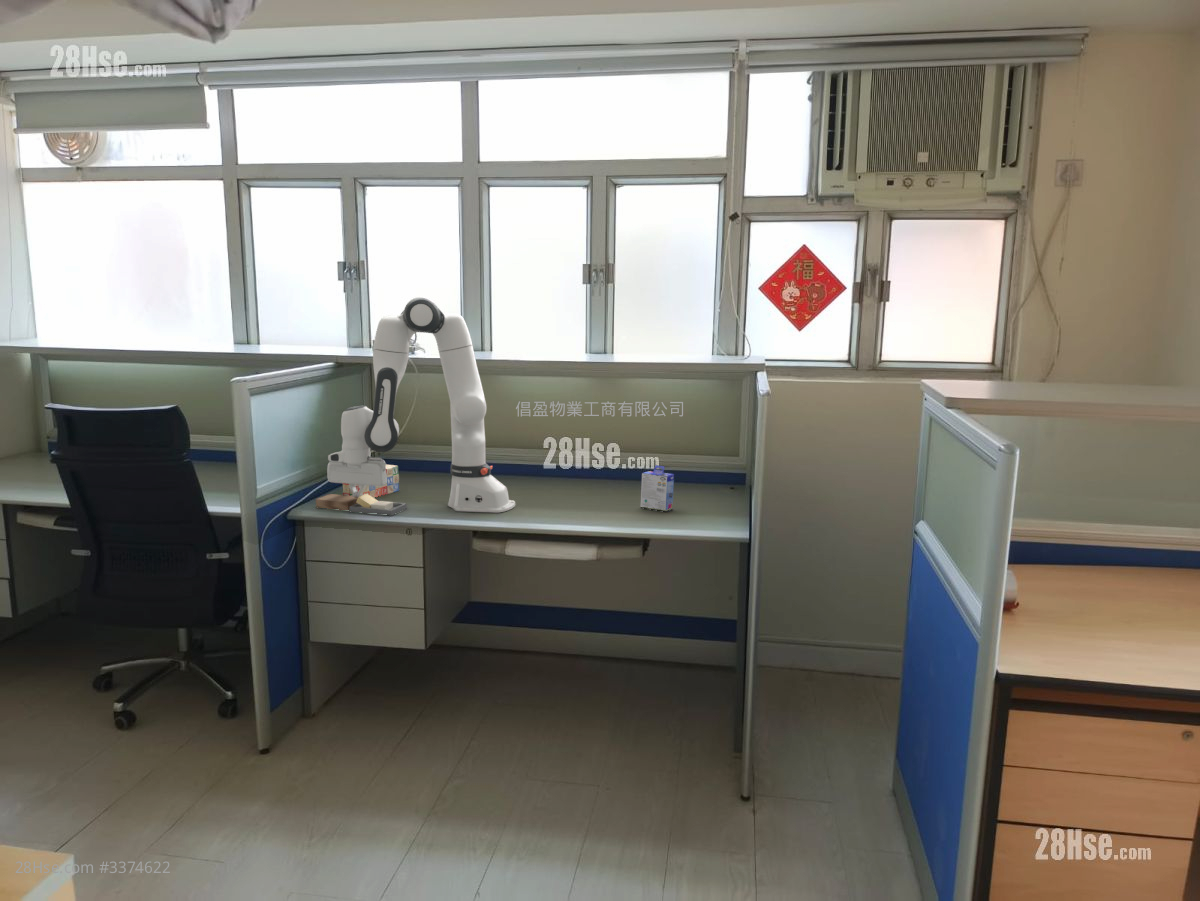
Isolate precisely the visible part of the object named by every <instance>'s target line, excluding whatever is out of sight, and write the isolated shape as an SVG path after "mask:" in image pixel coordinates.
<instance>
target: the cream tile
mask: <svg viewBox="0 0 1200 901" xmlns="http://www.w3.org/2000/svg"><path fill="white" fill-rule="evenodd" d="M393 502H394V501H385V500H378V502H375V503H373V504H371V508H375V509H386V510H390V509H392V508H393Z"/></svg>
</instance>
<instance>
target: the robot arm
mask: <svg viewBox="0 0 1200 901" xmlns="http://www.w3.org/2000/svg"><path fill="white" fill-rule="evenodd" d="M417 333H426V334H432V335H433V336H434V339H435V341H436V344H437V349H438V353H439V354H438V355H439V359H440V364H441V368H442V372H443V377H444V380H445V385H446V389H447V393H448V398H449V402H450V403H449V406H450V430H451V433H450V434H451V463H450V480H451V486H450V494H449V499H448V502H447V506H448V507H449V508H451V509H453V510H454V511H455V512H473V513H474V512H475V513H504V512H506V511H510V510H511V509H514V507H515V506H516V501H515V500H511V499H510V497H509V491H508V487H507V486H506V485H504V484H503V483H502V482H501V481H499V480H498V479H497V478H496V477H495V476H493V475H492V472H491V471H492V469H493V465H489V464H488V463H487V462H486V461H487V460H486V433H485V432H486V430H485V429H486V428H485V416H486V415H487V409H488V408H487V402H486V398H485V397H486V396H485V394H484V388H483V385H482V380H481V377H480V373H479V369H478V365H477V361H476V356H475V352H474V346H473V343H472V342H473V340H472V337H471V334H470V331H469V328H468V326H467V323H466V321H465V319H464V317H463V316H462V315H461V314H458V313H455V312H453V313H452V312H450V313H443V311H442V310H441V309H440V308H439V307H438V305H437V304H436V303H435V302H434V301H433V300H432V299H430V298H428V297H425V296H415V297H413V298H411V299H410V300H409V301H408V302H407V303H406V304H405V306H404V309H403V310H402V312H401V313H400V314H399V315H393V314H391V315H386V316H383V317H382V318H380V320H379V322H378V325H377V328H376V331H375V336H374V342H373V349H372V350H373V352H372V365H373V366H372V367H373V373H374V374H373V375H374V382H375V384H374V385H375V393H374V403H373V410H372V409H371V408H369V407H368V406H367V405H355V406H351V407H347V408H346V409H344V411H343V412H342V414H341V418H340V420H341V421H340V432H341V433H340V435H341V437H342V443H341V450H339V451H336V452H333V453H330V454H328V455H327V460H328V461H329V462H328V464H327V467H326V468H327V469H326V472H327V473H326V474H327V476H326V477H327V481H328V482H330V483H335V484H343V483H345V484H349V488H350V489H351V491H352V492H353V497H354V498H358V497H360V496H362V495H363V492H364V490H365V488H366V485H368V486H383V485H385V484H386V483H387V474H386V464H387V463H386V461H385V460H384V459H383V458H382V457H379V456H378V457H375V456H371V455H372V454H371V450H372V451H373V452H377V453H385V452H390V451H391V450H393V449H394V448H395V446H396V445H397V443H398V440H399V434H400V424H399V423H398V421H397V420H396V419H395V417H394V416H395V415H394V414H395V408H396V407H395V406H396V397H397V392H398V389H399V386H400V383H401V381H402V379H403V378H404V376H405V373H406V369H407V366H408V361H409V358H410V357H409V356H410V344H411V341H412V340H411V339H412V337H413V336H414V335H415V334H417ZM356 484H357V485H359V488H360V490H359V491H357V490H356V488H355V486H356Z"/></svg>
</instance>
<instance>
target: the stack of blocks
mask: <svg viewBox="0 0 1200 901" xmlns="http://www.w3.org/2000/svg"><path fill="white" fill-rule="evenodd" d="M386 474H387V483H386V484H385V485H383V486H368V485H366V488H365V490H364V492H363V495H365V494H368V495H370V496H371V497H373V498H374V499H376V498H378V496H379V497H382V496H381V495H383V496H386V495H388V494H393V493H396V492H398V491H400V474H399V466H398V465H394V464H387V463H386ZM355 488H356V490H357V491H359V490H360V488H359V485H357V484H356V486H355ZM385 494H386V495H385ZM342 495H348V496H353V492H352V491H351V489H350V488H349V484H345V483H342ZM375 497H376V498H375Z"/></svg>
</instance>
